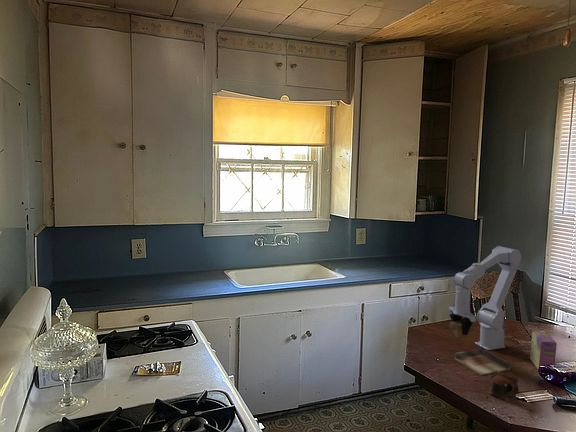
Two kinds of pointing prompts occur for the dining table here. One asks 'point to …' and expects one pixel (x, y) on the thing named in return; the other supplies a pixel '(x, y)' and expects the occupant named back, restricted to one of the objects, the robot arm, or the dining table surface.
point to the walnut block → (459, 330)
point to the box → (542, 349)
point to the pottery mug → (503, 386)
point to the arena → (482, 361)
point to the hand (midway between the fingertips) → (461, 332)
